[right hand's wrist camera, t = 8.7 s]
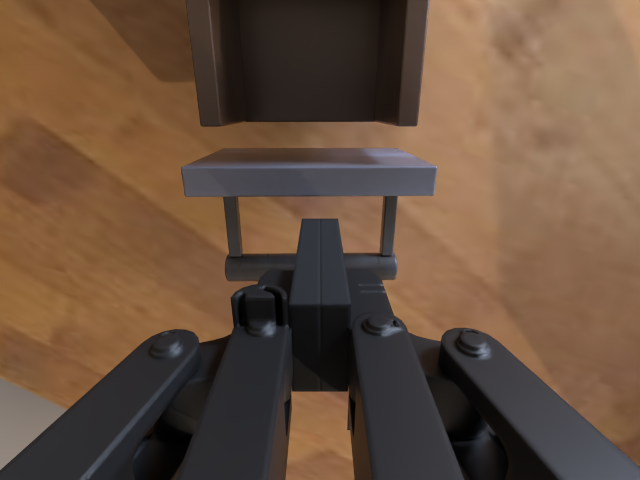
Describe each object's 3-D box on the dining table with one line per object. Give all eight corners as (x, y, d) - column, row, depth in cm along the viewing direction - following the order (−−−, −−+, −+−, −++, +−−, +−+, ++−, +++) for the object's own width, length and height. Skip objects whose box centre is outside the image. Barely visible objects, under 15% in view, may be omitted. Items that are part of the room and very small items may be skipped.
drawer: (389, 252, 22) (420, 309, 16) (233, 253, 22) (201, 311, 16) (428, -234, 14) (521, -509, 8) (185, -238, 14) (79, -523, 8)
